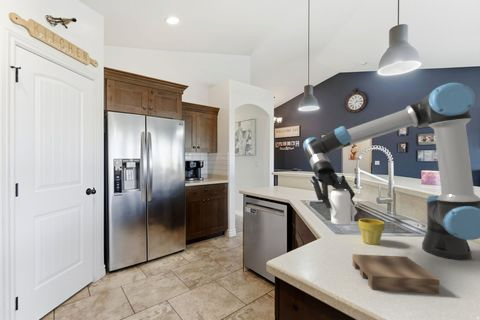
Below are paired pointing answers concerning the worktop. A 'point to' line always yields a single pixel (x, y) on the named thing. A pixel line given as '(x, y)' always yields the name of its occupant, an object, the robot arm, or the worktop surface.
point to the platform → (395, 273)
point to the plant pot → (371, 230)
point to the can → (341, 206)
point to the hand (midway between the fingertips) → (345, 214)
